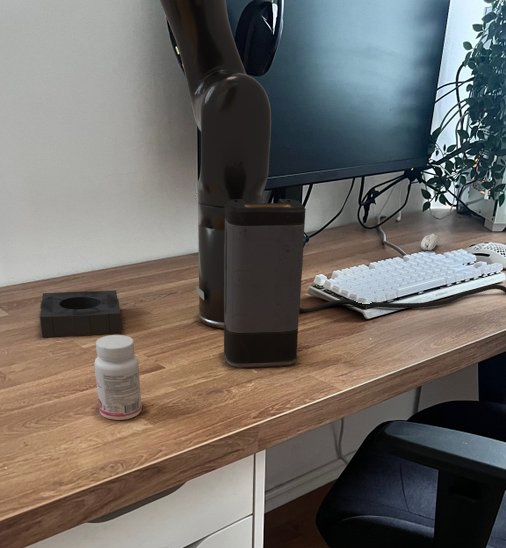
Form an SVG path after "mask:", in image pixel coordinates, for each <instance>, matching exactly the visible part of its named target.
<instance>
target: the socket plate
mask: <svg viewBox="0 0 506 548" xmlns="http://www.w3.org/2000/svg"><path fill="white" fill-rule="evenodd" d="M41 296H42V297H41V302H40V313H39V321H40V329H41V337H42V338H55V337H56V338H57V337H81V336H92V335H117V334H122V331H123V330H122V317H121V310H120V309H121V307H120V301H119V298H118V293H117V289H115V290H87V291H86V290H85V291H84V290H83V291H68V292H67V291H65V292H64V291H63V292H62V291H61V292H44V293H43V292H42V295H41Z"/></svg>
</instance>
